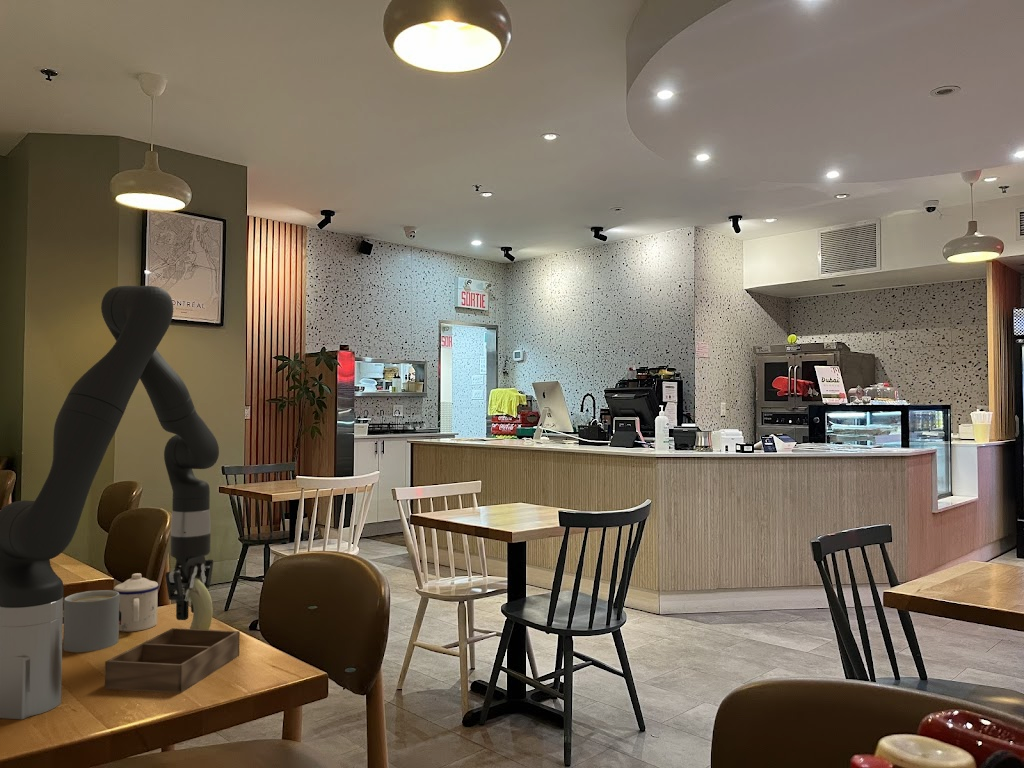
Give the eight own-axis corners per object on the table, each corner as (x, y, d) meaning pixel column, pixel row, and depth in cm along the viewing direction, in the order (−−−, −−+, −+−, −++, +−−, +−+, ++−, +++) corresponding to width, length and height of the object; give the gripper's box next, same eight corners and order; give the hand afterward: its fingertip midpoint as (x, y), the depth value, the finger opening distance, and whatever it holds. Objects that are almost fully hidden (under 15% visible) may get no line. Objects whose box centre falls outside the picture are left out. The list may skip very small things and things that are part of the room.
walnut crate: (181, 695, 128) (181, 665, 128) (104, 690, 130) (105, 661, 130) (239, 657, 148) (239, 631, 148) (171, 653, 150) (172, 628, 150)
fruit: (220, 638, 153) (223, 635, 156) (200, 566, 154) (202, 565, 157) (184, 651, 151) (187, 647, 154) (163, 578, 152) (166, 576, 155)
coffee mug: (121, 646, 154) (122, 597, 154) (65, 655, 148) (66, 604, 149) (112, 630, 165) (113, 584, 165) (59, 638, 159) (60, 591, 160)
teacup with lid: (113, 623, 170) (114, 571, 171) (157, 618, 174) (158, 568, 175) (111, 638, 160) (112, 583, 160) (158, 632, 164) (159, 578, 164)
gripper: (188, 538, 147) (187, 627, 146) (225, 526, 161) (225, 607, 160) (152, 537, 148) (151, 625, 147) (193, 526, 162) (192, 606, 162)
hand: (189, 615), depth 154 cm, fingers open, 4 cm apart
